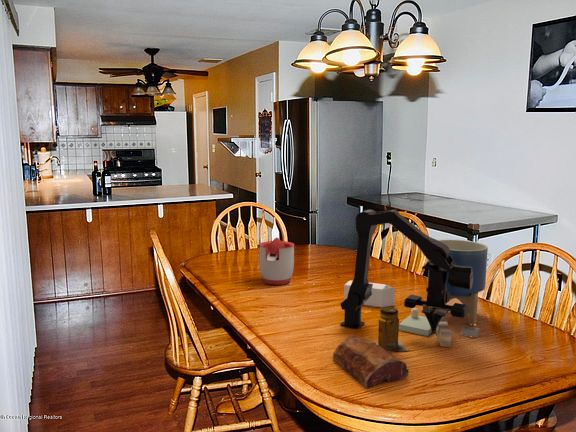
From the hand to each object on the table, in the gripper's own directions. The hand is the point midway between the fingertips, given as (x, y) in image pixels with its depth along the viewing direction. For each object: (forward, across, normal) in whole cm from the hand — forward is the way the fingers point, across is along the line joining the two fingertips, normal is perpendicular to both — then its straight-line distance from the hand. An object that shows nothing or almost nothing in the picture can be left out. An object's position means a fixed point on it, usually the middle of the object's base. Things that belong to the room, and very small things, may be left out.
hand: (433, 332), depth 163 cm
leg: (+2, -2, -2) cm, 4 cm away
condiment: (+3, +9, +13) cm, 16 cm away
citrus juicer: (+4, +78, -27) cm, 83 cm away
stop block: (+2, -9, -11) cm, 14 cm away
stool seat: (+3, +7, -8) cm, 11 cm away
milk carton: (0, +42, -22) cm, 47 cm away
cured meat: (+4, +11, +27) cm, 29 cm away
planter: (+3, 0, -26) cm, 26 cm away
